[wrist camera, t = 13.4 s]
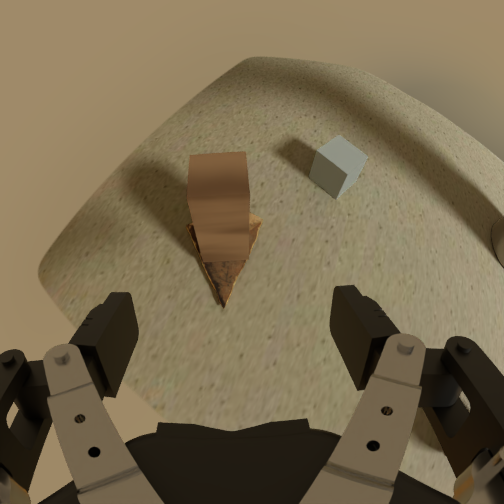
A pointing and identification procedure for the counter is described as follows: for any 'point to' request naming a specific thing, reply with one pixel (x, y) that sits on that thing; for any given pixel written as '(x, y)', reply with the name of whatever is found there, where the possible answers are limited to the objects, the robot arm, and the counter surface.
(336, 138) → the grey-blue block
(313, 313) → the counter surface
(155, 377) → the counter surface
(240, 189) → the walnut block
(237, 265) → the shard
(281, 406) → the counter surface
